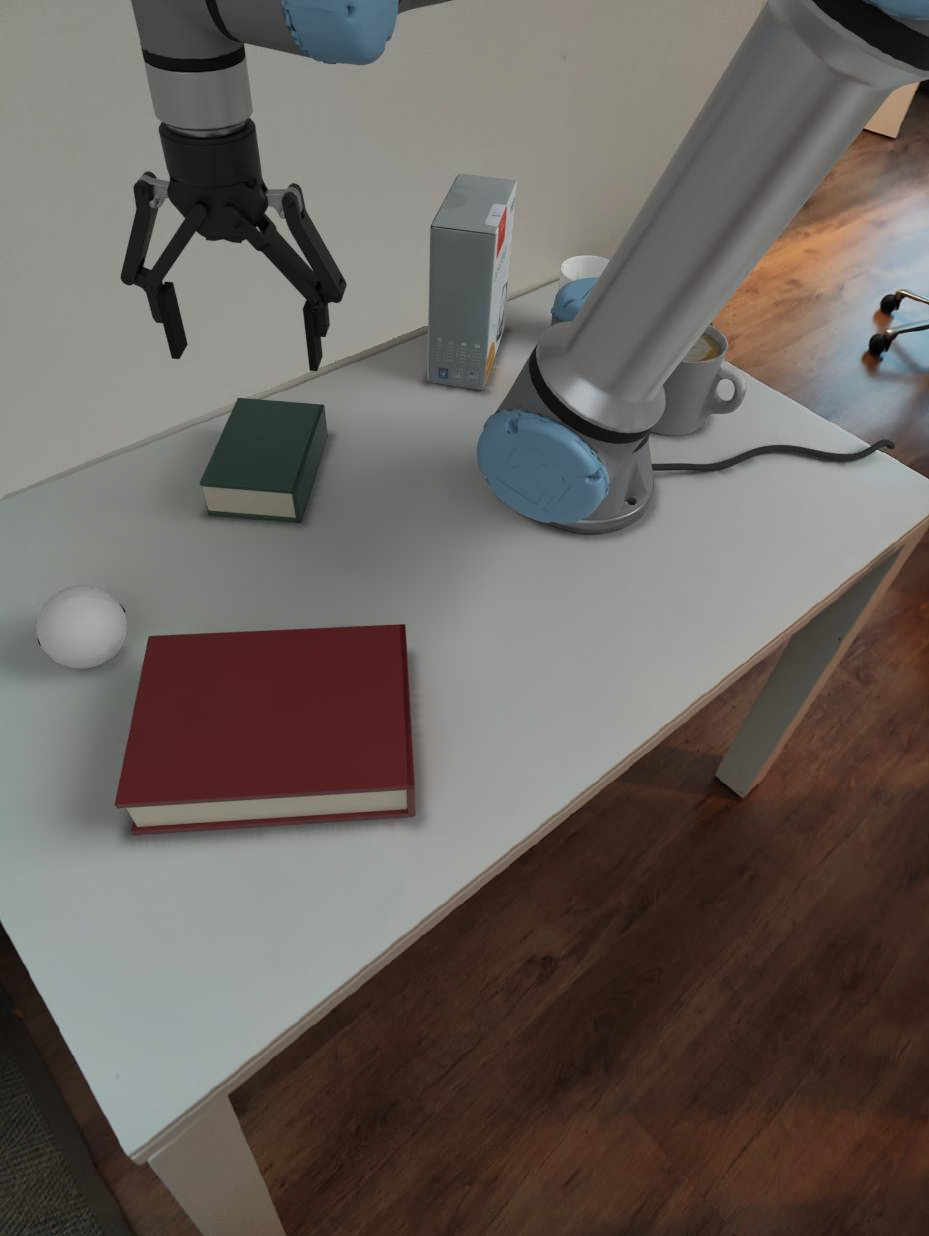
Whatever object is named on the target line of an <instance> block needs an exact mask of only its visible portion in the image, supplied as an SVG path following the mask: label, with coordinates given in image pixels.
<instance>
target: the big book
mask: <svg viewBox="0 0 929 1236" xmlns="http://www.w3.org/2000/svg"><path fill="white" fill-rule="evenodd" d="M409 677H410V675H409V659H408V643H407V627H406V623H399V624H398V623H397V624H377V625H356V626H355V625H354V626H333V627H332V626H331V627H312V628H311V627H309V628H291V629H288V628H287V629H271V630H270V629H269V630H268V629H267V630H248V631H247V630H246V631H226V632H225V631H224V632H207V633H206V632H205V633H183V634H182V633H180V634H163V635H162V634H161V635H160V634H159V635H148V636H147V642H146V646H145V651H144V658H143V661H142V666H141V671H140V676H139V680H138V681H139V682H138V687H137V692H136V696H135V701H134V706H133V711H132V716H131V717H132V718H131V721H130V726H129V731H128V735H127V741H126V744H125V745H126V746H125V750H124V756H123V761H122V765H121V770H120V775H119V779H118V785H117V790H116V796H115V800H114V803H113V804H114V807H115V808H116V809H126V810H127V812H128V815H129V816H130V817H131V819H132V824H131V829H130V833H131V835H132V836H142V835H157V834H170V833H171V834H172V833H186V832H200V831H215V830H231V829H247V828H260V827H275V826H290V825H305V824H321V823H335V822H350V821H366V820H378V819H379V820H381V819H395V818H412V817H416V816H417V815H416V781H415V780H416V777H415V762H414V746H413V743H414V742H413V729H412V727H413V726H412V712H411V695H410V694H411V693H410V678H409Z"/></svg>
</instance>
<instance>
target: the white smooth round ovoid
mask: <svg viewBox="0 0 929 1236" xmlns="http://www.w3.org/2000/svg"><path fill="white" fill-rule="evenodd" d="M25 603H28V601H27V600H25ZM29 603H30V604H34V605H40V606H41V607H40V610H39V611H38V615H37V619H36V625H35V632H36V636H37V643H38V645H39V647H41V649H42V650H43V651H44V652H45V653H46V654H47V656H49V657H50V658H51V659H52V660H53V661H54V662H56V663H58V664H61V665H64V666H66V667H69V668H71V669H78V670H79V669H81V670H84V669H91V668H92V669H93V668H96V667H98V666H100V665H103V664H106V663H107V662H108V661H110V660H111V659H113V658H114V657H116V655H117V654H118V653H119V652H120V650H121V649H122V648H123V645H124V643H125V640H126V638H127V635H128V621H127V615H126V613H127V612H126V610H125V607H124V606H123V605H122V604H121V603H120V602H118V600H117V599H116V598H115V597H114V596H113V595H111V593H109V592H106V591H105V590H103V589H100V588H99V587H95V586H90V585H89V586H88V585H77V586H69V587H67V588H64V589H61V590H59V591H57V592H56V593H54V594H53V595H52V596H50V597H49V598H48V599H47V600H46V601H45V602H44V603H43V604H40V603H36V602H32V601H29Z"/></svg>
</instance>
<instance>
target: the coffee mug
mask: <svg viewBox="0 0 929 1236" xmlns="http://www.w3.org/2000/svg"><path fill="white" fill-rule="evenodd" d="M728 350H729V342H728V339H727V337H726V336H725V334H724V333H723V332H722V331H721V330H720V329H718V328H717V327H715V326H713V325H712V324H710V325H709V326H708V327H707V329H706V330H705V331H704V333H703V334H702V335H701V336H700V338H699V339H698V340H697V341H696V343H695V344H694V345H693V347H692V348H691V349H690V350H689V352H688V353H687V354H686V356H685V357H684V358H683V359H682V361H681V362H680V363H679V364H678V366H677V367H676V368H675V370H674V371H673V372H672V373H671V375H670V376H669V377H668V378H667V380H666V381H665V382H664V384H663V388H664V392H665V402H666V403H665V409H664V412H663V414H662V416H661V418H660V419H659V421H658V422H657V423H656V424H655V425H654V427H653V428H652V429H651V431H650V433H654V434H659V435H664V436H671V437H672V436H673V437H674V436H676V437H677V436H684V435H689V434H693V433H695V432H696V431H698V430H700V429H701V428H702V427H703V426H704V425H705V422H706V420H707V417H708V416H710V415H726V414H730V413H733V412H734V411H736V410H737V409H738V408H739V407H741V404H742V403H743V401H744V399H745V397H746V393H747V390H748V379H747V376H746V374H745V373H744V372H743V371H742V370H741V369H739V368H738V367H736V366H733V365H730V364H728V363H726V361H725V360H726V357H727V353H728ZM723 380H728V381H731V383H732V384H733V387H734V392H733V395H732V397H731V399H728V400H725V399H723V398H722V397H720V394H719V385H720V382H721V381H723Z"/></svg>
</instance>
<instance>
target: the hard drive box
mask: <svg viewBox="0 0 929 1236" xmlns="http://www.w3.org/2000/svg"><path fill="white" fill-rule="evenodd" d="M517 187H518V180H515V179H508V178H502V177H492V176H485V175H476V174H468V173H462V172H461V173H460V172H459V173H458V174H457V175H456V177H455V179H454V180H453V183H452V184H451V186H450V188H449V190H448V193H447V194H446V195H445V198H444V200H443V201H442V203H441V205H440V207H439V208H438V209H437V212H436V214H435V216H434V218H433V220H432V222H431V224H430V228H429V229H430V230H429V231H430V232H429V269H428V270H429V274H428V315H427V316H428V318H427V357H426V359H427V362H426V365H427V366H426V381H427V382H429V383H432V384H433V383H434V384H438V385H439V384H440V385H447V386H453V387H460V388H467V389H472V390H479V391H484V390H485V388H486V385H487V382H488V379H489V377H490V373H491V371H492V368H493V364H494V361H495V359H496V356H497V352H498V350H499V347H500V343H501V341H502V337H503V335H504V332H505V323H506V313H507V301H508V289H509V279H510V278H509V276H510V266H511V252H512V243H513V230H514V221H515V220H514V219H515V208H516V207H515V206H516V199H517V198H516V197H517Z"/></svg>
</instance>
